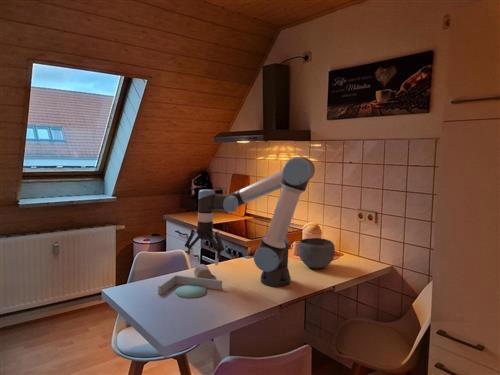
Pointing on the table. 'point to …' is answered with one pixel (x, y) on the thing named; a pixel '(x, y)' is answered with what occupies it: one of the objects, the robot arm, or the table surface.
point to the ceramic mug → (203, 272)
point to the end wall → (166, 285)
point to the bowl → (316, 252)
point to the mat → (191, 291)
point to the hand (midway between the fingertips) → (203, 262)
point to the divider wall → (199, 282)
